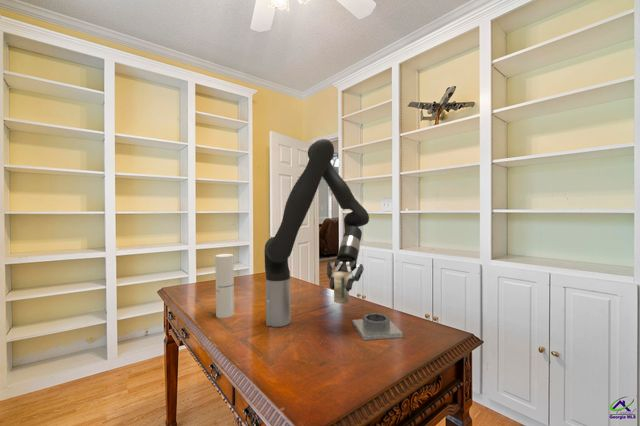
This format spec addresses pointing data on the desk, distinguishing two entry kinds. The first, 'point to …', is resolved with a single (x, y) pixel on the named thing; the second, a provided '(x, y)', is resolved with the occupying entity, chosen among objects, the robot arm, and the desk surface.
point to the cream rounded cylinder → (341, 287)
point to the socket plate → (376, 327)
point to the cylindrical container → (224, 285)
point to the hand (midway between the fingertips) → (339, 289)
